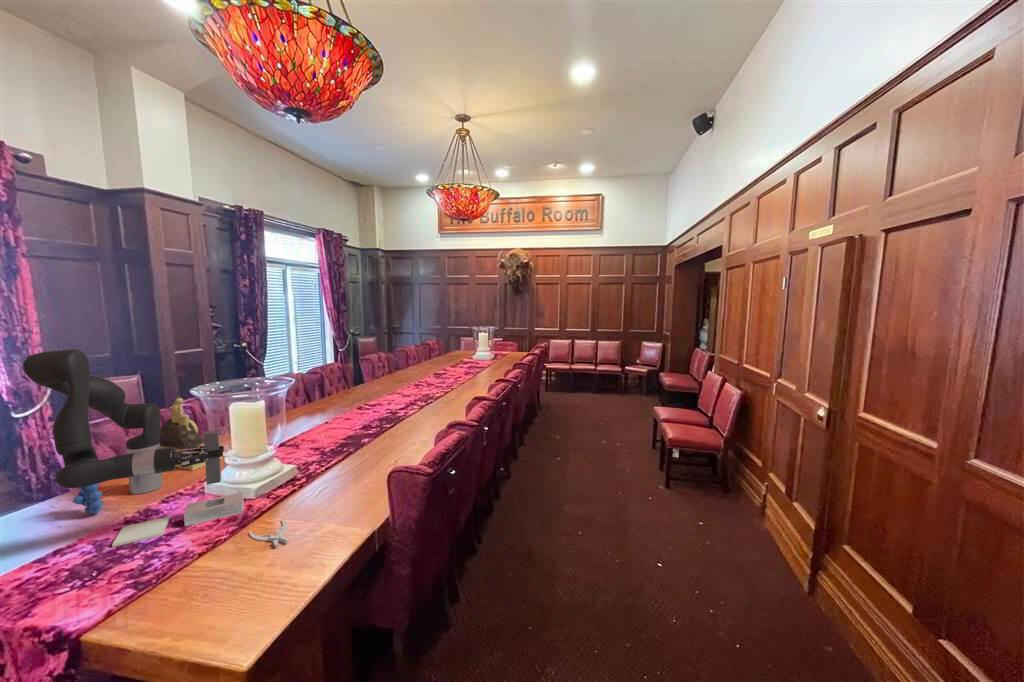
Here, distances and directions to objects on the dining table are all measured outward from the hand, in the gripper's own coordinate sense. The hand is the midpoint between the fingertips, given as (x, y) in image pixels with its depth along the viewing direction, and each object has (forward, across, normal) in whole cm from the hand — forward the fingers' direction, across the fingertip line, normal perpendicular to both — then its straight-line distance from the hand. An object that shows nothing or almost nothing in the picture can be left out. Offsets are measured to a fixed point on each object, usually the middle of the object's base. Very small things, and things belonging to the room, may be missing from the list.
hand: (222, 450), depth 130 cm
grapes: (-39, +23, +22) cm, 50 cm away
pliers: (+13, -26, +22) cm, 36 cm away
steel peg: (-3, 0, +10) cm, 10 cm away
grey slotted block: (-3, 0, +21) cm, 22 cm away
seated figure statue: (-19, +64, +22) cm, 70 cm away
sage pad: (-21, -1, +22) cm, 30 cm away
